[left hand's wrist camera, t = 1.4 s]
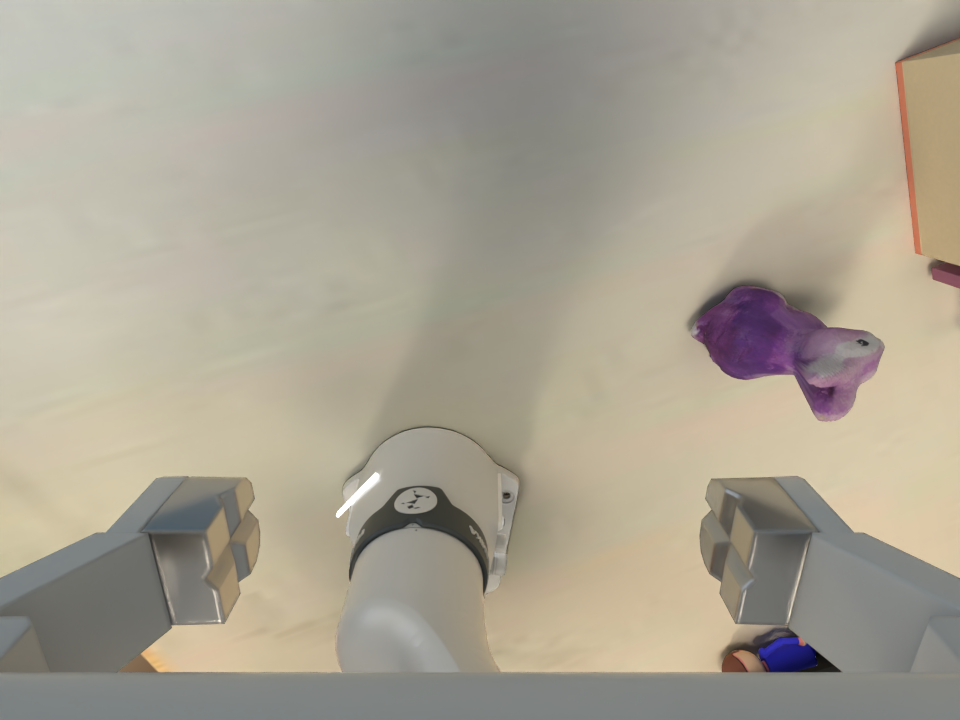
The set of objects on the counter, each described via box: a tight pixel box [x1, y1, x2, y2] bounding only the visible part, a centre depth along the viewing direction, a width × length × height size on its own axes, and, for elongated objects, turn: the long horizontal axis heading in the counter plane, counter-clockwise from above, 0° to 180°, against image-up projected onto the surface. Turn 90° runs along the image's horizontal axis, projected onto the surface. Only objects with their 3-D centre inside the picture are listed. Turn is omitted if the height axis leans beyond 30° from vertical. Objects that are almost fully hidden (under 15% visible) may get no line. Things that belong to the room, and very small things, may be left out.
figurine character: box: [722, 636, 842, 672], centre depth 68 cm, size 7×8×15 cm
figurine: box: [691, 286, 885, 421], centre depth 49 cm, size 9×10×15 cm
